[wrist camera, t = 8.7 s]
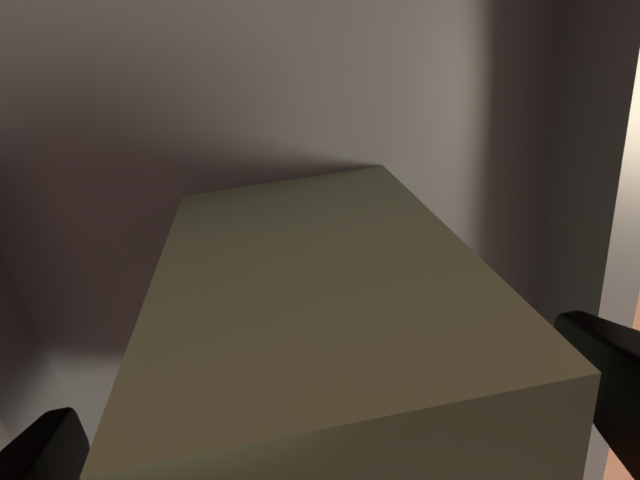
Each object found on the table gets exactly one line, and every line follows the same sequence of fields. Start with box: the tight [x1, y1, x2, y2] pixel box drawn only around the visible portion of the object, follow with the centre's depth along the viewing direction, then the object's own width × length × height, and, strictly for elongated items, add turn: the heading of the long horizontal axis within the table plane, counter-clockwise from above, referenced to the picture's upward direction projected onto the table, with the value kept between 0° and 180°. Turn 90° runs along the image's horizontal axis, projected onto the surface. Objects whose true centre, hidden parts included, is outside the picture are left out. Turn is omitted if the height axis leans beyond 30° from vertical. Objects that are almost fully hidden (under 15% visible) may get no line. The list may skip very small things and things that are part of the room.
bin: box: [0, 0, 640, 480], centre depth 12 cm, size 18×16×4 cm
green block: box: [79, 165, 601, 480], centre depth 9 cm, size 5×5×8 cm
